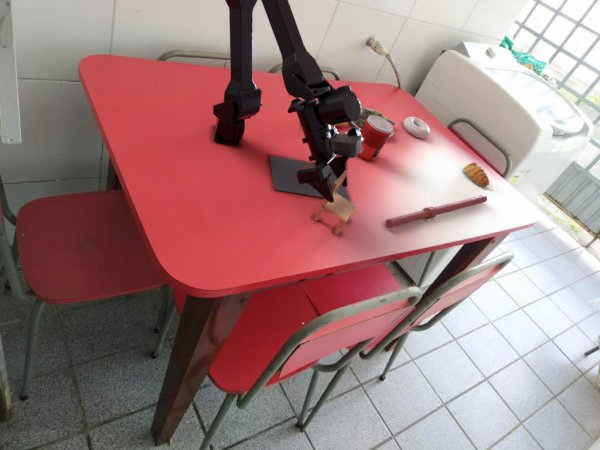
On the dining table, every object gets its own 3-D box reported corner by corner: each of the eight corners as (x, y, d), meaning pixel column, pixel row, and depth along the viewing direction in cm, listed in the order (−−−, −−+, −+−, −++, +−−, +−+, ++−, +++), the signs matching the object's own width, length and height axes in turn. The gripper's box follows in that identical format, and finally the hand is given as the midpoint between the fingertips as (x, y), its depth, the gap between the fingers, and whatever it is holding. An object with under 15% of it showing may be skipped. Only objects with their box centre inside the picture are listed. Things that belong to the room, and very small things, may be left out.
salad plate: (385, 114, 147) (391, 103, 144) (402, 144, 136) (410, 133, 133) (337, 103, 140) (343, 91, 137) (352, 134, 128) (359, 122, 125)
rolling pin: (388, 232, 101) (395, 224, 99) (381, 223, 102) (387, 214, 100) (484, 205, 127) (490, 198, 125) (477, 198, 129) (483, 191, 127)
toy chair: (313, 219, 94) (333, 182, 87) (325, 205, 99) (345, 170, 92) (337, 234, 94) (359, 199, 86) (348, 220, 99) (369, 185, 91)
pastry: (490, 187, 138) (497, 178, 135) (478, 189, 134) (486, 180, 131) (471, 168, 142) (478, 160, 140) (459, 170, 138) (466, 161, 136)
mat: (274, 190, 97) (275, 189, 96) (269, 155, 105) (269, 155, 105) (349, 202, 104) (349, 201, 103) (338, 169, 112) (338, 168, 112)
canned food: (374, 165, 121) (393, 135, 113) (350, 154, 120) (367, 123, 113) (376, 152, 126) (393, 122, 119) (352, 141, 126) (369, 111, 118)
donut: (404, 119, 151) (399, 129, 143) (408, 111, 148) (404, 121, 141) (427, 132, 150) (424, 143, 142) (433, 125, 148) (429, 135, 140)
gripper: (332, 135, 74) (356, 210, 80) (366, 106, 88) (384, 171, 94) (283, 146, 81) (309, 215, 87) (322, 117, 94) (342, 178, 100)
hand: (338, 194), depth 92 cm, fingers open, 8 cm apart
